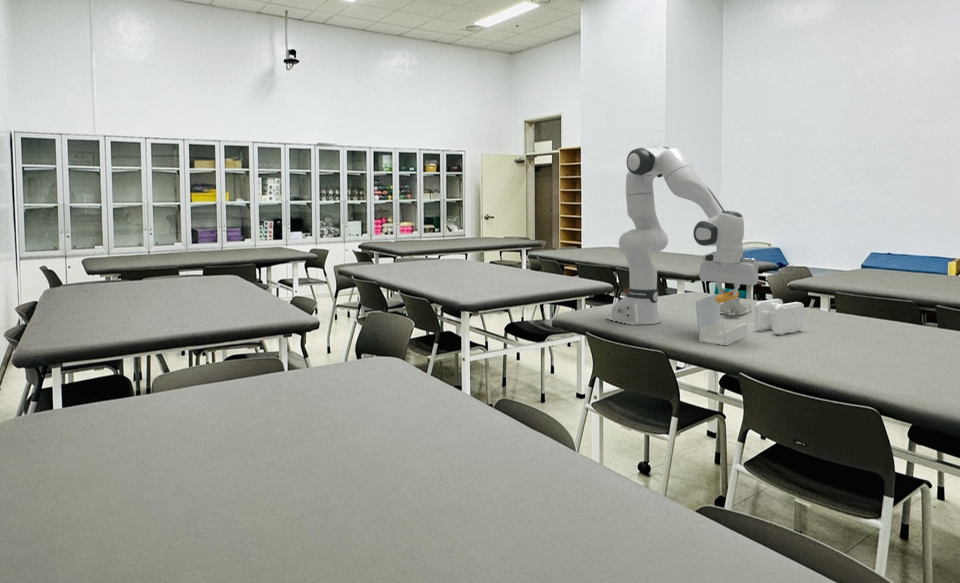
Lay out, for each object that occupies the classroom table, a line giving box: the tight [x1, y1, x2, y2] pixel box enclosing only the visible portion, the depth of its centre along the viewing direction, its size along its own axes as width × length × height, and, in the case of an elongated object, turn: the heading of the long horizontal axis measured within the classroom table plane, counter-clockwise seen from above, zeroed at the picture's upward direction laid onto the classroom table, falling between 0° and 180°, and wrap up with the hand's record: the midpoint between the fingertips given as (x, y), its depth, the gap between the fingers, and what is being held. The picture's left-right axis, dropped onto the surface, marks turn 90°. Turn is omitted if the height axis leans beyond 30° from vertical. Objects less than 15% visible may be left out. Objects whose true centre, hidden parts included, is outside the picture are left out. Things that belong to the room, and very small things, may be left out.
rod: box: [715, 290, 740, 304], centre depth 230 cm, size 3×16×3 cm, turn 137°
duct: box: [698, 319, 748, 347], centre depth 232 cm, size 10×18×5 cm, turn 137°
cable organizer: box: [753, 298, 805, 336], centre depth 242 cm, size 15×11×12 cm
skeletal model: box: [720, 289, 752, 316], centre depth 276 cm, size 16×9×25 cm
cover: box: [695, 293, 721, 329], centre depth 235 cm, size 10×18×1 cm
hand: (727, 294), depth 230 cm, fingers closed on rod, 3 cm apart
